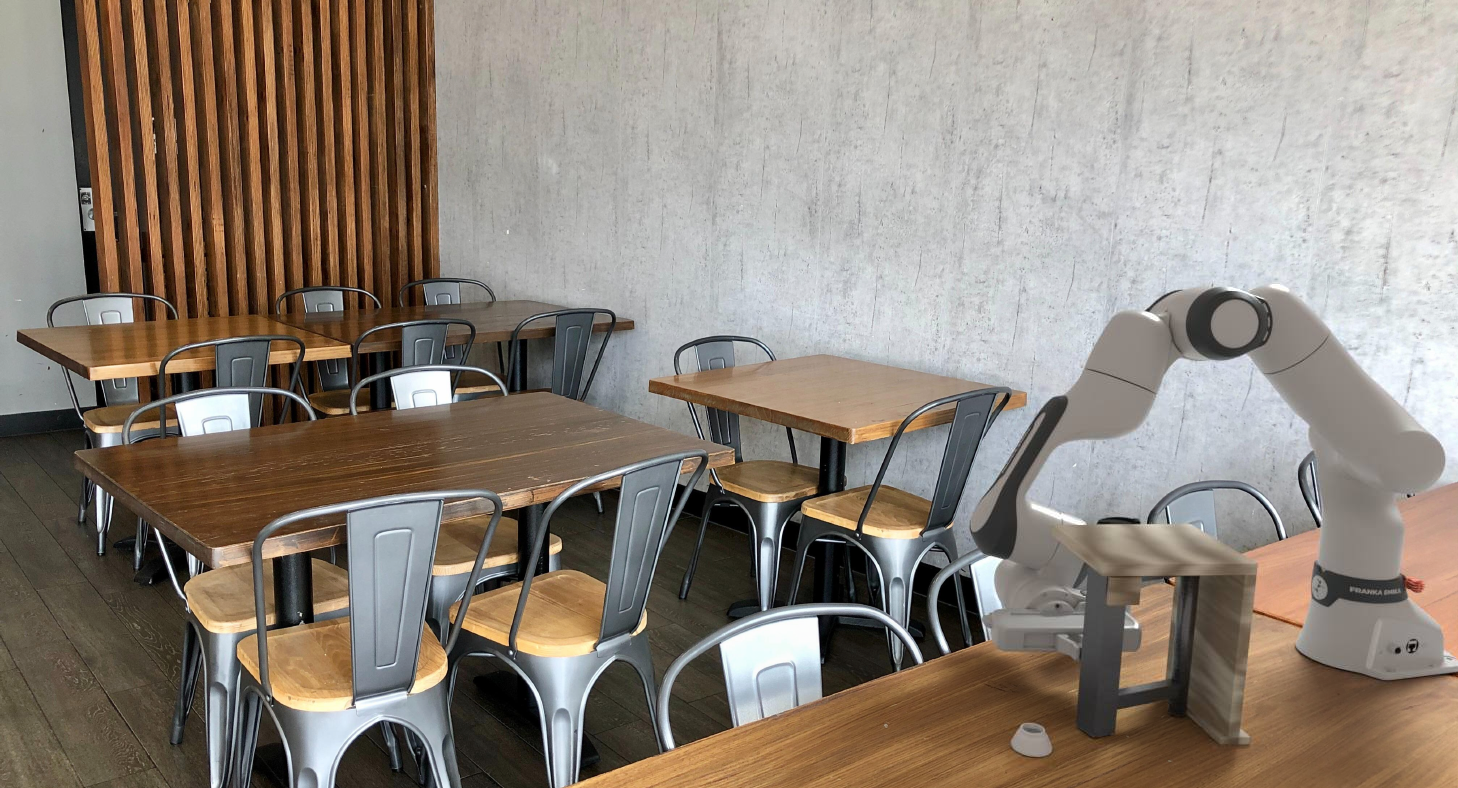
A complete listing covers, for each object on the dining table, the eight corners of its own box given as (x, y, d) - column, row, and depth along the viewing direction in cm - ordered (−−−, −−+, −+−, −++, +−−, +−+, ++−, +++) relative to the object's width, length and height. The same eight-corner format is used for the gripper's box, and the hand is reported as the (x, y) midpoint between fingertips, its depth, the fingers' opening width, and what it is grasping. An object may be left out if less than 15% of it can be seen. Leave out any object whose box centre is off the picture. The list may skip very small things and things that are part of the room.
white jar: (1002, 747, 137) (1034, 763, 133) (1004, 725, 137) (1036, 741, 133) (1027, 736, 140) (1059, 752, 136) (1029, 715, 140) (1061, 730, 136)
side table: (1184, 686, 155) (1200, 524, 151) (1249, 744, 139) (1269, 563, 134) (1040, 688, 154) (1052, 524, 150) (1089, 748, 137) (1104, 564, 133)
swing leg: (1173, 705, 149) (1188, 550, 145) (1193, 716, 145) (1209, 558, 142) (1075, 725, 142) (1088, 564, 138) (1093, 737, 139) (1107, 573, 135)
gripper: (979, 593, 154) (1008, 632, 140) (1118, 594, 155) (1161, 632, 141) (976, 635, 155) (1005, 677, 141) (1115, 635, 156) (1156, 677, 142)
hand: (1084, 654), depth 141 cm, fingers closed
